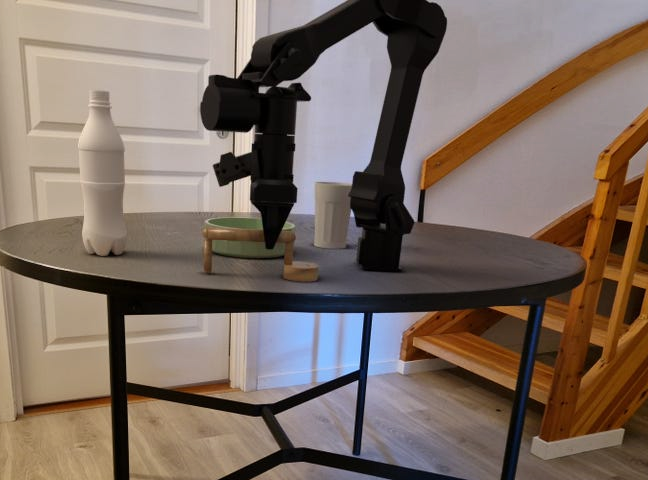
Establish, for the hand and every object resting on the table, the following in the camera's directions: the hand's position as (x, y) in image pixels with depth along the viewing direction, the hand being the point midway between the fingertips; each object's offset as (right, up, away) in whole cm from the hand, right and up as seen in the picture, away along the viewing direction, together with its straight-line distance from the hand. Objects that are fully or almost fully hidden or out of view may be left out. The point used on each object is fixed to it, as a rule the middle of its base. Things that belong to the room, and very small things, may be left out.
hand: (269, 246), depth 91 cm
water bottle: (-27, +1, +12) cm, 30 cm away
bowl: (-4, +3, +21) cm, 22 cm away
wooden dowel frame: (-1, -4, +1) cm, 5 cm away
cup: (+12, +6, +31) cm, 34 cm away
